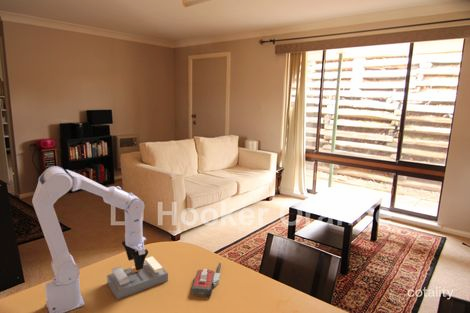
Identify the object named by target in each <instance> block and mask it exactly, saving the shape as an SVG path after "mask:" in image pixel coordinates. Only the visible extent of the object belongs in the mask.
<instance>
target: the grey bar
mask: <svg viewBox="0 0 470 313" xmlns="http://www.w3.org/2000/svg"><path fill="white" fill-rule="evenodd" d="M123 270H124V269H123V268H122V266H117V267H114V268H112V269H111V274H112V273H113V275H114V276H115V278H116V279H117V281H118V283H119V284H120V285H122V284H125V283H128V282H129V278H128V276H127V275H126V274H125V272H124V271H123Z"/></svg>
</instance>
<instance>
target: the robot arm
mask: <svg viewBox="0 0 470 313" xmlns="http://www.w3.org/2000/svg"><path fill="white" fill-rule="evenodd" d="M36 185H37V186H36V189H35V191H34V193H33V197H32V199H31V200H32V205H33V209H34V211H35V214H36V217H37V219H38V222H39V224H40V227H41V230H42V233H43V236H44V239H45V241H46V244H47V247H48V250H49V252H50V256H51V263H50V266H51V269H52V270H53V273H54V276H53V278H52V280H51V281H49V282H47V283H45V285H44V288H45V289H44V290H45V296H46V297H45V299H46V302H45V304H46V305H45V306H46V308H47V309H48V310H47V311H48V313H67V312H70V311H73V310H75V309H78V308H80V307H81V308H82V307H83V306H85V300H84V299H83V296H82V294H81V282H80V273H81V270H80V268H79V266H78V265H77V263H76V262H75V260H74V256H73V255H72V254H71V253H70V252H69V249H68V245H67V243H66V240H65V237H64V234H63V231H62V228H61V225H60V222H59V219H58V216H57V213H56V210H55V208H54V204H55V203H56V202H57V201H58V199H60V198H61V197H63V196H64V195H65V194H67V193H68V192H69V191H70V190H71V192H76V191H78V190H83V191H86V192H88V193H92V194H94V195H96V196H99V197H102V199H103V202H104V203H106V204H108V205H110V206H113V207H116V208H118V209H120V210H124V229H125V233H124V241H122V242H121V244H122V247H123V248H124V250H125V253H126V256H127V260H128V261H129V262H130V261H133V262H134V266H135V268H136V270H140V269H142V268H143V264H144V263H145V259H146V258H147V255H148V254H149V250H148V248H147V249H146V248H145V242H146V241H147V238H146V236H144V235H143V232H144V231H143V230H144V229H143V212H144V210H145V207H146V206H145V203H144V201H143V200H142V199H140V197H139V196H137V195H135V194H134V193H133V192H127V191H125V190H123V189H122V187H120V186H118V185H116V186H115V185H113V186H108V187H107V186H104V185H103V184H100V183H99V182H96V181H94V180H92V179H90V178H88V177H86V176H84V175H82V174H80V173H77V172H74V171H72V170H69V169H64V168H63V167H62V166H61V167H60V166H57V165H56V166H55V165H54V166H50V167H48V168H46V169H45V170H44V171H43V173H41V175H40V176H39V177H38V182H37V184H36Z"/></svg>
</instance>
